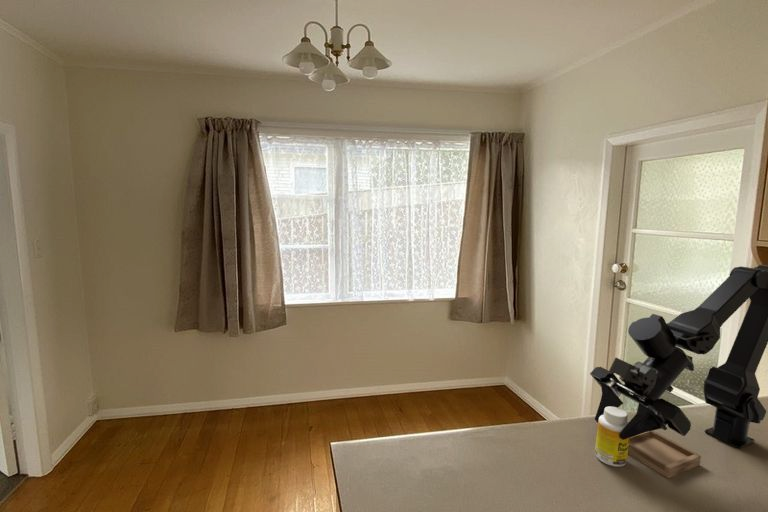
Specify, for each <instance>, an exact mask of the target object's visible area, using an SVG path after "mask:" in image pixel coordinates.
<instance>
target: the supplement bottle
mask: <svg viewBox="0 0 768 512" xmlns="http://www.w3.org/2000/svg"><path fill="white" fill-rule="evenodd" d="M628 415H629V414H628V413H627V411H626V410H624V409H622V408H620V407H618V408H617V407H611V406H608V407H605V409H604V415H601V416H600V417H599V420H598V422H597V432H596V438H595V439H596V440H595V447H594V448H595V449H594V454H595V456H596V458H597V459H598V461H599V460H600V462H602V463H604V464H606V465H608V466H610V467H616V468H620V467H623V466H626V464H627V462H628V455H629V454H628V448H629V440H630V438H627V439H624V440H622V439H621V438H620V437H619V435H620V433H621V431H622V430H623V429H624V427H625V426H626V425H627V424H628V423H629V422H630V421H628Z"/></svg>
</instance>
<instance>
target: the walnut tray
mask: <svg viewBox="0 0 768 512" xmlns="http://www.w3.org/2000/svg"><path fill="white" fill-rule="evenodd" d="M628 455H630V456H631V457H633V458H634V459H636V460H638V461H639V462H641V463H643V464H644V465H645V466H647V467H649V468H651V469H652V470H654V471H655V472H657V473H659V474H660V475H662V476H664V477H665V478H667V479H671V478H673V477H675V476H678V475H679V474H682V473H685V472H687V471H690V470H691V469H694V468H696V467H698V466H700V463H701V459H702V455H700V454H699V453H696V452H695V451H693V450H691V449H690V448H687V447H685V446H683V445H681V444H679V443H677V442H675V441H673V440H672V439H670V438H668V437H666V436H665V435H662V434H660V433H659V432H657V431H656V430H653V431H649V432H645V433H642V434H639V435H636V436H633V437H630V440H629V448H628Z"/></svg>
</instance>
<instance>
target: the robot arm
mask: <svg viewBox="0 0 768 512" xmlns="http://www.w3.org/2000/svg"><path fill="white" fill-rule="evenodd" d="M748 300H749V301H750V302H749V306H748V307H747V310H746V312H745V314H744V317H743V320H742V323H741V324H740V326H739V329H738V332H737V334H736V337H735V338H734V342H733V344H732V346H731V349H730V351H729V354H728V356H727V359H726V361H725V362H724V363H723V364H721V365H719V366H718V367H716V366H711V367H710V368H709V370H708V374H707V375H706V378H705V380H703V387H702V388H703V395H704V401H705V404H707V405H710V406H712V407H714V408H715V413H714V420H713V426H712V427H709V428H707V429H705V430H704V433H705V434H707V435H710V436H711V437H714V438H715V439H718V440H720V441H722V442H724V443H726V444H728V445H730V446H733V447H735V448H737V449H742V448H744V447H746V446H749V445H750V444H751V445H752V444H753V443H755V441H756V440H755V439H754V438H751V437H749V429H750V425H751V424H750V423H753V424H760V423H761V421H763V420H764V418H765V417H766V413H767V410H766V409H765V407H764V405H763V404H762V402H761V401H760V400H759V394H760V391H761V390H760V389H761V388H760V386H759V382H758V379H757V375H756V372H757V369H758V367H759V364H760V362H761V360H762V357H763V355H764V353H765V351H766V348H767V345H768V265H767V264H760V265H758V266H756V267H748V266H736V267H733V268H732V269H731V271H730V273H729V276H728V277H727V278H726V279H725V280H724V281H723V282H722V283H721V284H720V285H719V286H718V287H717V288H716V289H715V290H714V291H712V293H710V295H709V296H707V298H706V299H705V300H703V302H701V304H699V305H698V306H697V307H696V308H695V309H693V310H689V311H685V312H682V313H680V314H678V315H677V316H676V317H675V318H673V319H672V320H670V321H669V322H668V323H667V322H666V319H665V318H664V317H663V316H662V315H658V314H656V313H655V314H654V313H652V314H651V315H650V316H649V317H643V318H639V319H637V320H635V321H633V322H631V324H630V325H629V327H628V330H627V332H628V335H629V336H630V337H631V339H632V341H634V343H635V344H636V346H637V347H638V348H639V349H640V350H641V352H642V354H643V355H645V356H646V357H647V358H646V359H645V360H644V362H641V361H639V360H638V361H636V362H635V363H634V364H632V363H628V362H627V361H625V360H623V359H621V358H618V357H614V360H613V362H612V363H611V366H610V368H609V370H608V369H606V368H604V367H602V366H596V367H594V368H593V370H592V371H591V372H590V373H589V375H590V376H591V377H592V378H593V379H594V381H595V382H596V383H597V384H598V385H599V386H600V389H601V396H600V397H601V398H600V402H599V405H598V408H597V412H595V413H596V414H595V417H594V421H596V422H597V423H598V420H599V417H600V416H601V415H604V409H605V407H608V406H611V407H617V408H620V407H621V406H622V405H623V404H624V402H623V401H622V399H621V398H620V397H621V395H623V396H625V397H626V398H628V399H630V400H632V401H633V402H635V403H637V404H638V406H637V410H636V413H635V415H634V416H633V417H632V418H631V420H630V421H628V422H629V423H628V424H627V425H626V426H625V427H624V429H623V430H622V431H621V433H620V435H619V437H620V438H621V439H622V440H624V439H627V438H630V437H633V436H636V435H639V434H642V433H645V432H649V431H656V430H664V431H666V430H668V428H669V429H671V430H672V431H674V432H675V433H677V434H678V435H680V436H683V437H685V436H686V435H687V433H689V431H690V430H691V429H692V428H691V427H692V425H691V424H692V423H691V420H689V418H688V417H687V415H686V413H684V411H683V410H682V409H681V408H680V407H679V406H677V405H675V404H673V403H672V402H669V401H668V400H666V399H663V398H661V397H662V396H663V394H664V393H665V392H669V393H672V392H673V390H674V387H673V386H672V384H673V383H674V382H675V380H676V379H677V378H678V377H680V375H681V373H682V372H683V371H684V370H688V371H690V372H693V371H694V370H695V365H694V362H693V357H692V356H690V355H689V354H686V352H685V351H684V350H686V351H689V352H691V353H693V354H696V355H707V354H708V353H709V352H711V351H712V350H713V349H714V348H715V345H716V344H717V343H718V342H719V340H720V339H721V327H722V326H723V325H724V324H725V322H727V320H728V319H730V318H731V317H732V316H733V314H734V313H736V312H737V311H738V309H740V308H741V307H742V305H743V304H744V303H746V301H748ZM616 375H618V376H619V378H618V377H617V376H616ZM619 379H620V380H621V381H620V380H619ZM622 382H623V383H622Z"/></svg>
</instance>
